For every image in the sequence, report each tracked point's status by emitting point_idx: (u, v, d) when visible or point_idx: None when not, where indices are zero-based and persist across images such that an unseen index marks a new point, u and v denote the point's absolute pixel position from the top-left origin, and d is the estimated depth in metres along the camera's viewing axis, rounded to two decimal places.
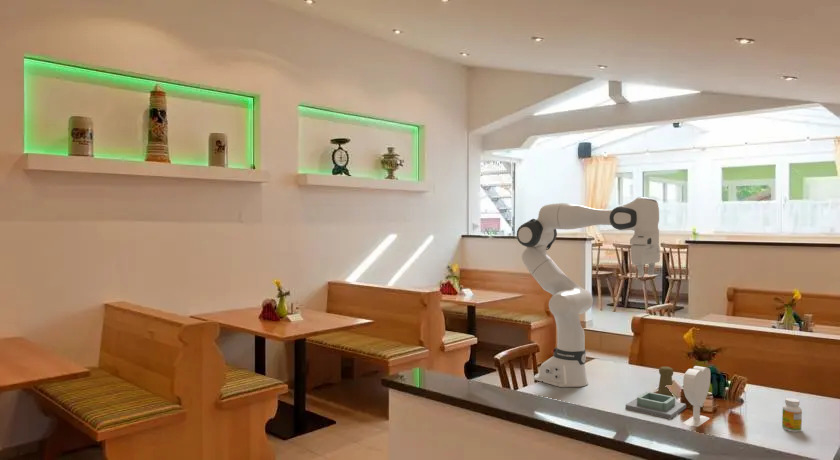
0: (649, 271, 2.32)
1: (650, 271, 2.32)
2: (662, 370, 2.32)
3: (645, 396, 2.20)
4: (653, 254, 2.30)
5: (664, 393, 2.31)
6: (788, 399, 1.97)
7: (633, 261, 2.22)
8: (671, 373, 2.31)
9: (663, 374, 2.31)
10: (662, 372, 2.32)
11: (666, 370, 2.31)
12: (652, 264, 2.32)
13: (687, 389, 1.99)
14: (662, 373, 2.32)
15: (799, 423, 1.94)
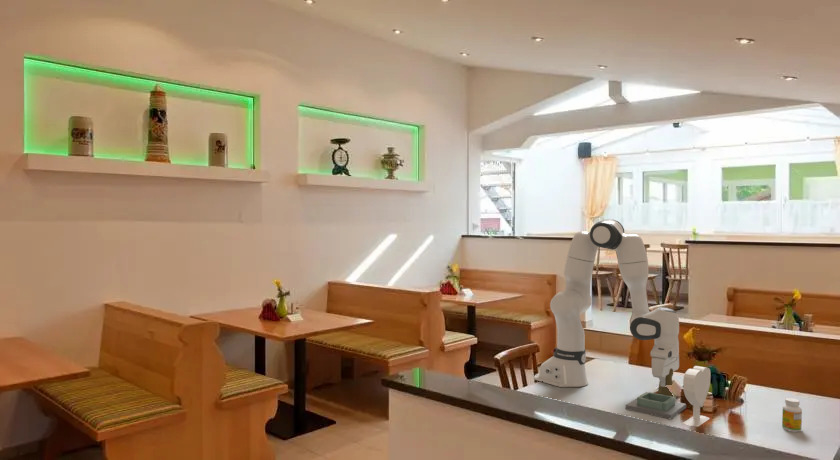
0: None
1: None
2: None
3: (645, 396, 2.20)
4: (673, 363, 2.34)
5: (664, 393, 2.31)
6: (788, 399, 1.97)
7: (654, 374, 2.26)
8: (671, 373, 2.31)
9: None
10: None
11: None
12: None
13: (687, 389, 1.99)
14: None
15: (799, 423, 1.94)
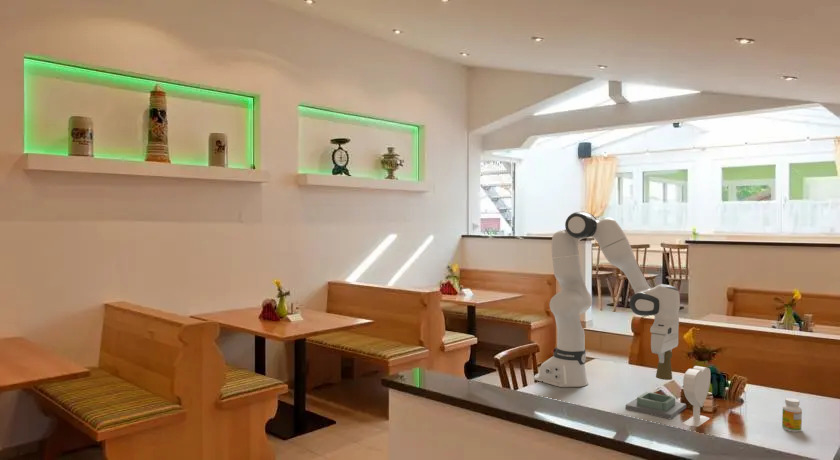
0: None
1: None
2: None
3: (645, 396, 2.20)
4: (672, 340, 2.34)
5: (662, 375, 2.31)
6: (788, 399, 1.97)
7: (653, 350, 2.26)
8: (669, 356, 2.31)
9: None
10: None
11: None
12: None
13: (687, 389, 1.99)
14: None
15: (799, 423, 1.94)
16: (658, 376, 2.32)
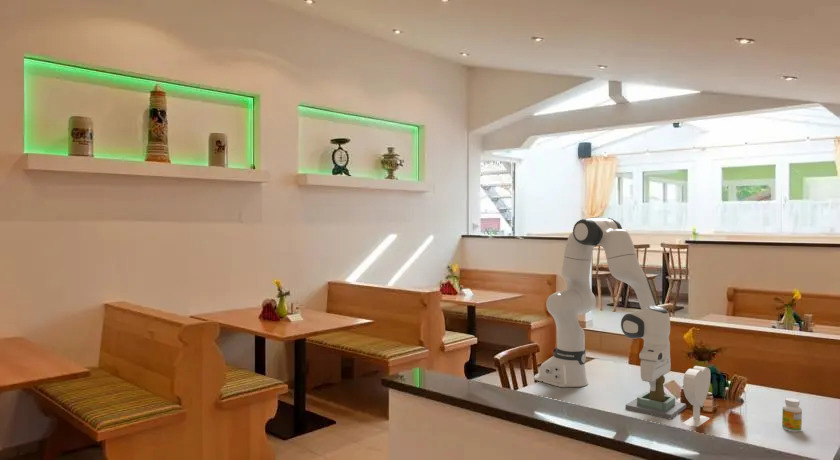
0: None
1: None
2: None
3: (645, 396, 2.20)
4: (664, 366, 2.18)
5: None
6: (788, 399, 1.97)
7: (643, 378, 2.10)
8: (662, 381, 2.14)
9: None
10: None
11: None
12: None
13: (687, 389, 1.99)
14: None
15: (799, 423, 1.94)
16: None
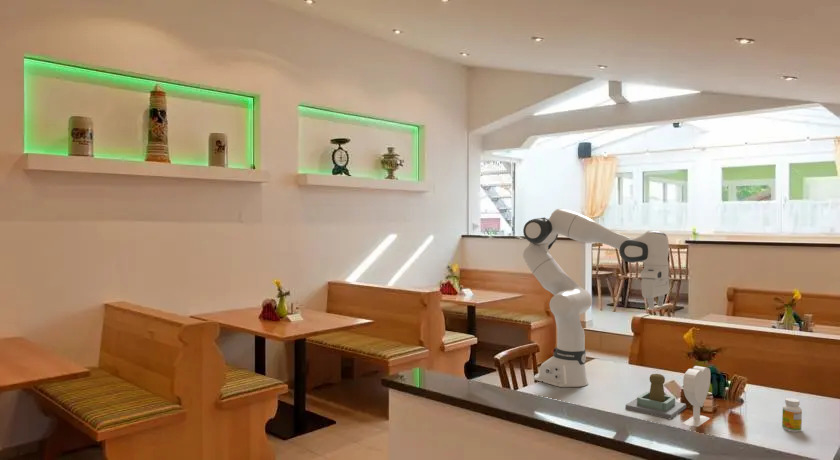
0: (659, 302, 2.37)
1: (660, 303, 2.37)
2: (653, 378, 2.15)
3: (645, 396, 2.20)
4: (663, 286, 2.35)
5: None
6: (788, 399, 1.97)
7: (644, 294, 2.27)
8: (662, 381, 2.14)
9: (653, 382, 2.15)
10: (652, 380, 2.15)
11: (656, 378, 2.15)
12: (662, 296, 2.38)
13: (687, 389, 1.99)
14: (652, 381, 2.15)
15: (799, 423, 1.94)
16: None
